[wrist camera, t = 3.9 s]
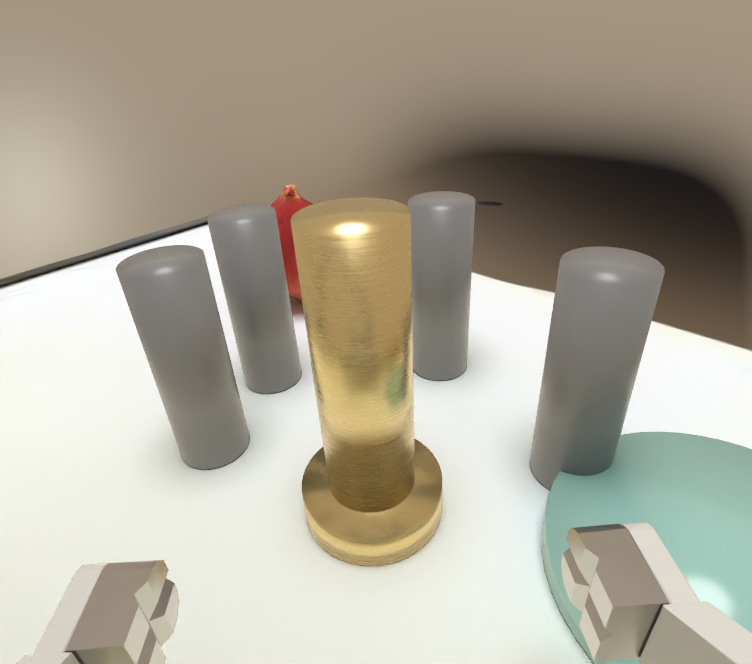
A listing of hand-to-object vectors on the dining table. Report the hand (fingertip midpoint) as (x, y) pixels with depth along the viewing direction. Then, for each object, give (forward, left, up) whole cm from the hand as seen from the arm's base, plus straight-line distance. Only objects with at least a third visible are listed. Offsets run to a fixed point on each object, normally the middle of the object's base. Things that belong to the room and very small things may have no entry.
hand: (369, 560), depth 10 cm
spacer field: (+1, +12, -6) cm, 13 cm away
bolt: (0, +7, -7) cm, 9 cm away
